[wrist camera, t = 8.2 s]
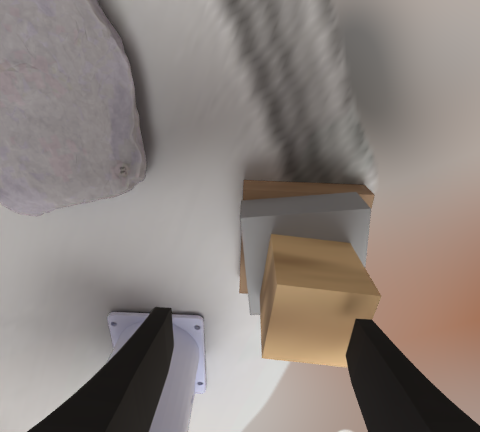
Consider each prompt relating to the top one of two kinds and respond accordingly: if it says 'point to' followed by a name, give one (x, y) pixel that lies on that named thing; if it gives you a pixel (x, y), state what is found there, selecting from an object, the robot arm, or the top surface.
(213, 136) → the top surface
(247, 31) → the top surface
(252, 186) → the bottom slab
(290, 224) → the top slab
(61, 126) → the stone block
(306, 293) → the oak cube
